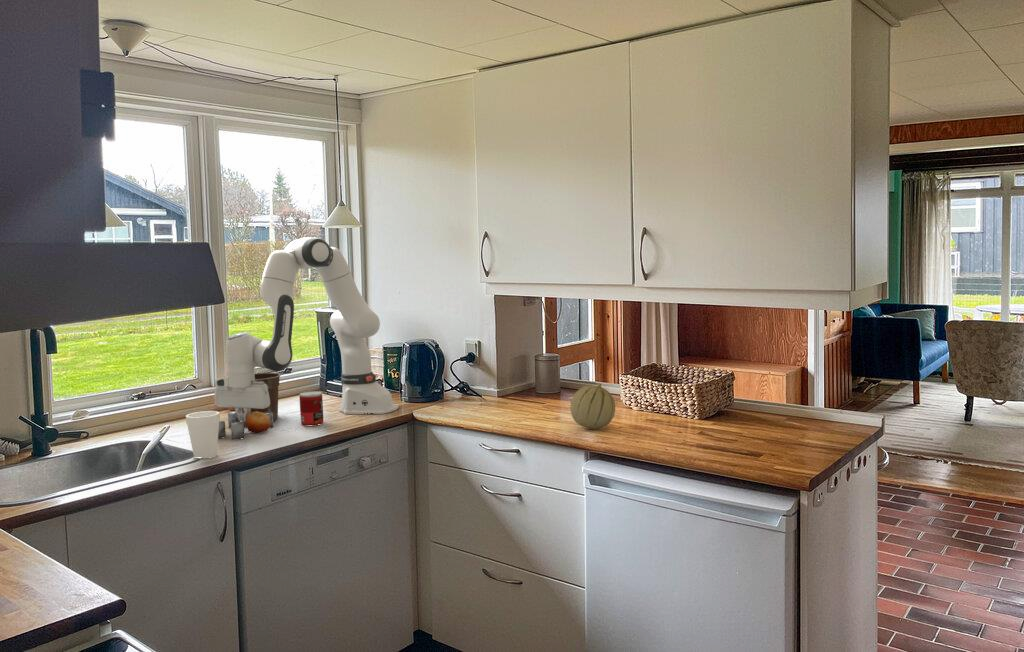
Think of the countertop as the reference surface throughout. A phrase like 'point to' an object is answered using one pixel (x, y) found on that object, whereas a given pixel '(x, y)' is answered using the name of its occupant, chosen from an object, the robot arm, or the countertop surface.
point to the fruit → (258, 422)
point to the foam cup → (203, 432)
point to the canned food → (311, 408)
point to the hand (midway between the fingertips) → (243, 420)
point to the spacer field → (237, 425)
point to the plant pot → (272, 384)
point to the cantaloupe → (592, 407)
